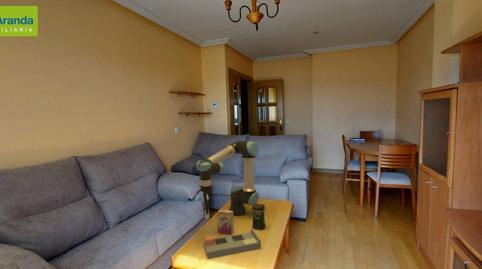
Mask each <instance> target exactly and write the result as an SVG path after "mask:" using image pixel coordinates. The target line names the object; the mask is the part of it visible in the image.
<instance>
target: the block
mask: <svg viewBox="0 0 482 269" xmlns="http://www.w3.org/2000/svg"><path fill="white" fill-rule="evenodd" d="M215 239H216V238H215V234H207V235H204V241H205V244H206V246H209V245H215Z"/></svg>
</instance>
